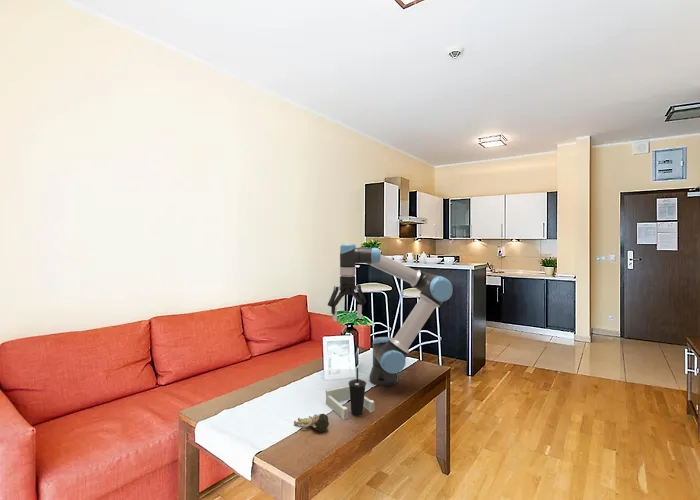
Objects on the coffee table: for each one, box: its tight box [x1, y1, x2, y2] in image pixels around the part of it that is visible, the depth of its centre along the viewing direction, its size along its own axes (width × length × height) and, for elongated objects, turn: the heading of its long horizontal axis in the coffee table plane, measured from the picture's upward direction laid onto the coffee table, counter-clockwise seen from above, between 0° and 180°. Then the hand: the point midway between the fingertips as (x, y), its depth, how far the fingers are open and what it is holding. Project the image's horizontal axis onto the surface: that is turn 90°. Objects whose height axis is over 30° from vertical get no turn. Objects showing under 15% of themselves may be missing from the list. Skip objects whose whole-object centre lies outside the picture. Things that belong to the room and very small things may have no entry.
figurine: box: [293, 413, 330, 432], centre depth 152 cm, size 8×6×15 cm
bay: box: [325, 384, 375, 421], centre depth 170 cm, size 15×18×6 cm
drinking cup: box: [348, 367, 367, 417], centre depth 164 cm, size 8×8×20 cm
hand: (347, 319), depth 183 cm, fingers open, 13 cm apart
